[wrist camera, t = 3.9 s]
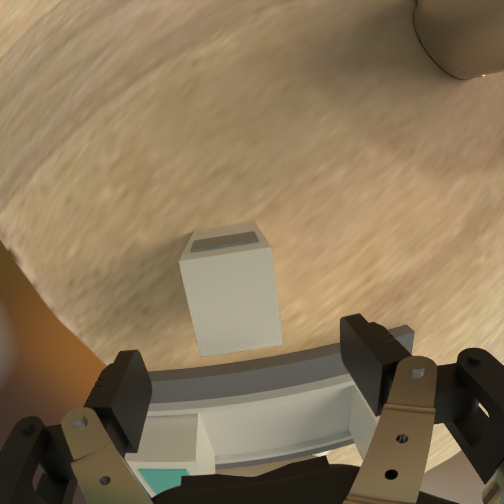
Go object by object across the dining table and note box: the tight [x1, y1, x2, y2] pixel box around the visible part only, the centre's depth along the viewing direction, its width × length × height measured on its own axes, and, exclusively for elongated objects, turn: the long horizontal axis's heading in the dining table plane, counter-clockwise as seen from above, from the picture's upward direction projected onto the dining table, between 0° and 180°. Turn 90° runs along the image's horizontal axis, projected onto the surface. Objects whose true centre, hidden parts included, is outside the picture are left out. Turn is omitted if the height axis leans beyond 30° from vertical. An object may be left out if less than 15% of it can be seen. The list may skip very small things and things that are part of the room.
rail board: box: [124, 325, 414, 497], centre depth 23 cm, size 14×27×8 cm, turn 98°
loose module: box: [179, 222, 283, 357], centre depth 19 cm, size 6×4×8 cm
